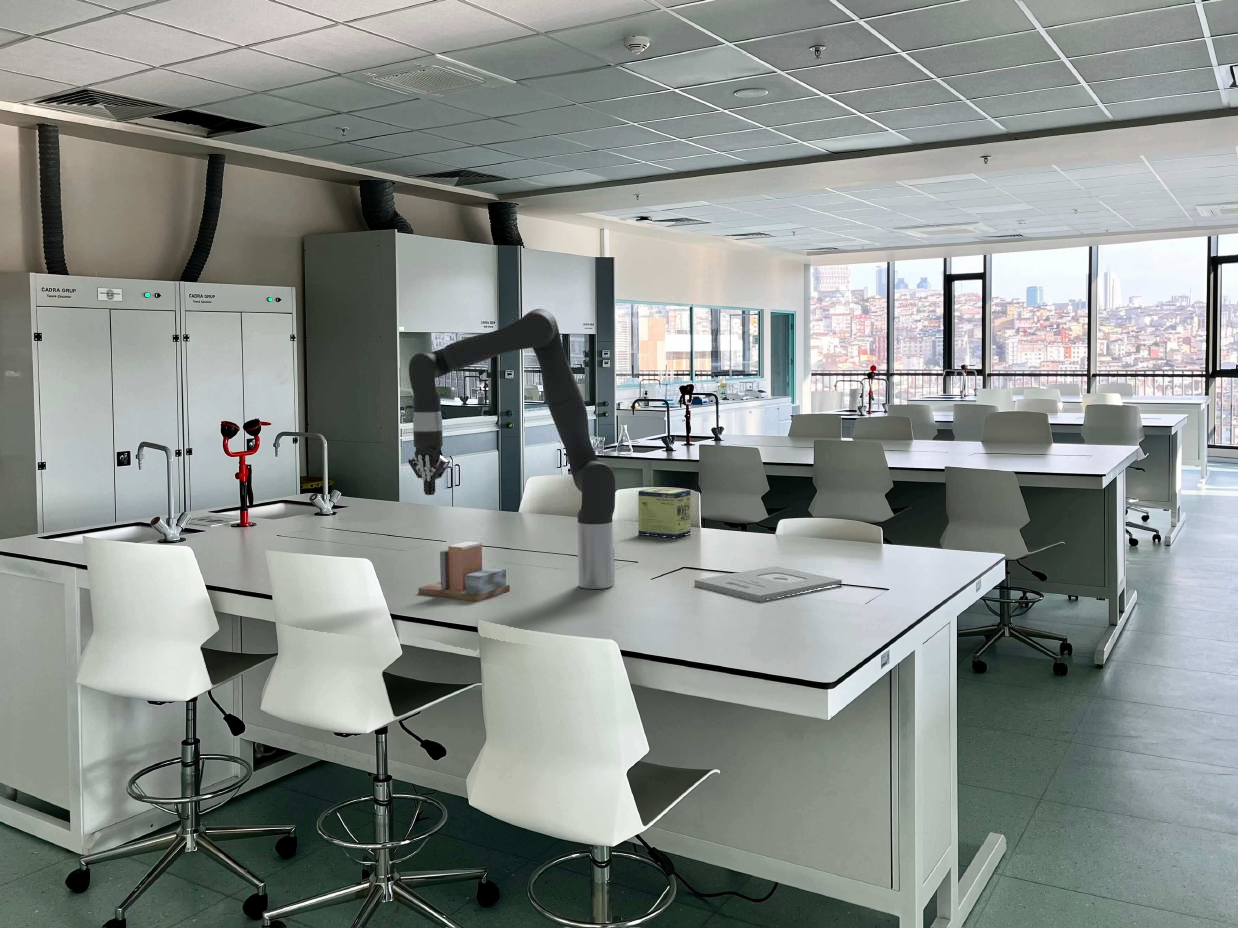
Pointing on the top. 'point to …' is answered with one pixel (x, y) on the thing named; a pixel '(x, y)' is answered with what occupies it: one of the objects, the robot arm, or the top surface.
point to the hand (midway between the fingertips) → (429, 494)
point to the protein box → (664, 512)
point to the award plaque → (766, 583)
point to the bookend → (444, 569)
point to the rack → (473, 586)
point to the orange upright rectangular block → (463, 562)
